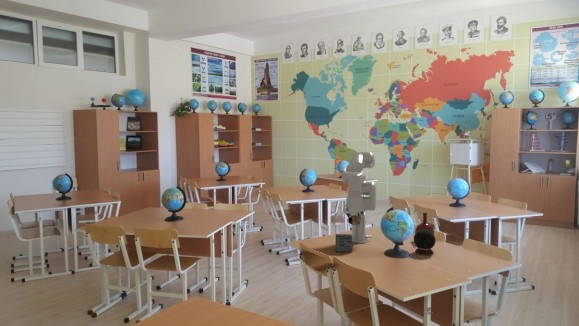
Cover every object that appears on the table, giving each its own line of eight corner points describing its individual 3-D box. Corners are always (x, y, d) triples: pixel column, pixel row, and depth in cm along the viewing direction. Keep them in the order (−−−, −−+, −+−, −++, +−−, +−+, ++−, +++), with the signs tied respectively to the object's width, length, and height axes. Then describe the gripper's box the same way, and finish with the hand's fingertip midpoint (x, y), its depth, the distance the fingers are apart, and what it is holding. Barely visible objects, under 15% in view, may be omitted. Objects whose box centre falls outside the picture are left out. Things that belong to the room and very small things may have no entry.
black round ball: (409, 251, 267) (409, 228, 266) (426, 249, 271) (427, 226, 270) (421, 256, 255) (422, 232, 254) (439, 254, 259) (440, 230, 258)
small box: (351, 249, 271) (351, 233, 270) (352, 252, 265) (352, 236, 264) (335, 249, 272) (335, 233, 272) (335, 252, 266) (335, 236, 265)
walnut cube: (356, 222, 258) (356, 214, 258) (360, 224, 254) (360, 216, 253) (349, 223, 257) (349, 215, 256) (352, 225, 252) (352, 217, 252)
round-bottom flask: (437, 244, 283) (437, 215, 282) (417, 244, 284) (418, 215, 282) (430, 239, 296) (431, 211, 295) (412, 239, 297) (412, 211, 295)
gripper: (363, 192, 260) (363, 220, 261) (339, 193, 254) (339, 222, 256) (370, 193, 253) (369, 223, 254) (344, 195, 247) (344, 225, 249)
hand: (354, 222), depth 255 cm, fingers closed on walnut cube, 5 cm apart
